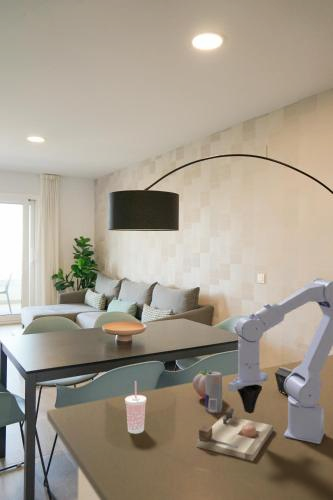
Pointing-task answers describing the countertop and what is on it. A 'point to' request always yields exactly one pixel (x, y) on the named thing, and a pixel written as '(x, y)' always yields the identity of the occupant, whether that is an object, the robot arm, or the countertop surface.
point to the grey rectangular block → (229, 414)
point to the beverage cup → (135, 412)
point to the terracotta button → (249, 431)
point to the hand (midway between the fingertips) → (249, 411)
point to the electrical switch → (282, 378)
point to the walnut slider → (205, 433)
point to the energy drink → (213, 391)
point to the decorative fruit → (200, 383)
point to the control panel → (236, 438)
